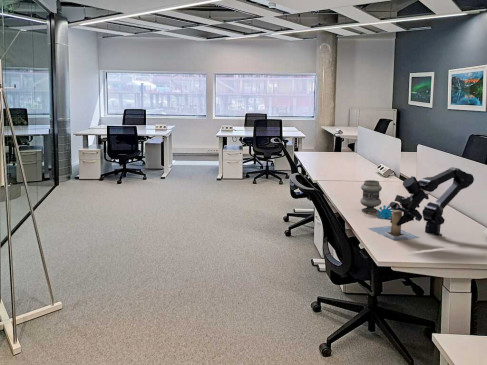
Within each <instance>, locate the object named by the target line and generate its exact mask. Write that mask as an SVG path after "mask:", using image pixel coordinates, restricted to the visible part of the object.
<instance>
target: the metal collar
mask: <svg viewBox="0 0 487 365" xmlns="http://www.w3.org/2000/svg"><path fill="white" fill-rule="evenodd" d="M385 236H387V237H389V238H391V239H393V240H392V241H394V240H396V239H405V238H407V235H405V234H403V233H401V234H400V236H393V235H391V232H384V236H383V237H385ZM387 237H386V238H387ZM389 238H388V239H389ZM391 239H390V240H391ZM405 240H406V239H405ZM396 241H397V240H396Z"/></svg>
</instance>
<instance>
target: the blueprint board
mask: <svg viewBox="0 0 487 365" xmlns="http://www.w3.org/2000/svg"><path fill="white" fill-rule="evenodd" d="M367 229H368V230H370V231H371V232H375V233H377V234H378V235H380V236H383V237H386V238H387V239H389V240H392V241H394V242H395V241H403V240H405V241H406V240H414V239H420V237H419V236H417V235H415V234H412V233H410V232H407V231H405V230H402V229H401V233H403V234H405V235H407V238H405V239H396V240H393V239H391V238H389V237H387V236H384V232H391V225H388V226H387V225H386V226H376V227H367Z"/></svg>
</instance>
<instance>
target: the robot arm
mask: <svg viewBox="0 0 487 365" xmlns="http://www.w3.org/2000/svg"><path fill="white" fill-rule="evenodd" d="M450 180H452V184H451V185H450V186H449V187H447V189H446V190H445V192H443V193H442V195H441V196H439V198H438V199H437V200H436V201H435V202H432V201H431V202H430V201H429V202H427V204H426V205H425V206H423V209H422V214H421V213H420V211H419V210H418V209H419V208H420V207H421V206H420V204H421V203H422V202H423V201H424V200H429V198H430V197H429V193H431V192H434V191H435V190H437V189H438V187H439V186H440V185H441V184H444V183H446V182H447V181H450ZM474 181H475V178H474V175H473V174H472V173H468V172H466V171H464V170H462V169H460V168H458V167H453V166H452V167H449V168H447V169H446V170H444V171H441V172H440V173H438V174H436V175H434V176H429V177H423V178H421V179H420V180H417V178H416V176H410V177H408V178H406V179H404V180H403V182H402V186H403V187H404V188H405V190H406V191H407V193H408V194H410V196H408V195H406V196H402V195H399V194H396V196H395V199H394V201H391V202H390V203H389V204H388V205H389V206H390V208H392V209H393V210H399V211H402V217H401V219H400V220H399V221H398V223H397V226H399V225H401V226H402V225H403V224H407V223H409V222H412V221H417V222H421V220H422V219H423V221H424V222H425V228H424V233H426V234H428V235H429V234H430V235H431V234H432V235H435V236H443V234H442V233H441V225H444V223H445V221H446V220H445V218H444V217H443V214H444V209H445V208H446V207H447V205H448V204H450V203H451V202H452V200H453V199H454V198H455V197H456V196H457V195H458V193H460V191H462V190H464V189H467V188H469V187H470V186H472V185H473V183H474ZM426 192H429V193H426ZM417 208H418V209H417ZM393 210H392V211H393ZM390 223H391V224H392V219H391V220H390Z"/></svg>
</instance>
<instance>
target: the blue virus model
mask: <svg viewBox="0 0 487 365" xmlns="http://www.w3.org/2000/svg"><path fill="white" fill-rule="evenodd" d="M382 206H383V208H382ZM382 206H380V207H379V206H378V207H379V209H377V213H376V216H377V217H378V219H382V220H385V219H386V221H387V220H388V221H389V220H390V221H391V219H392V211H393V209H392V208H391V207H390V206H389V204H388V205H382Z"/></svg>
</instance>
